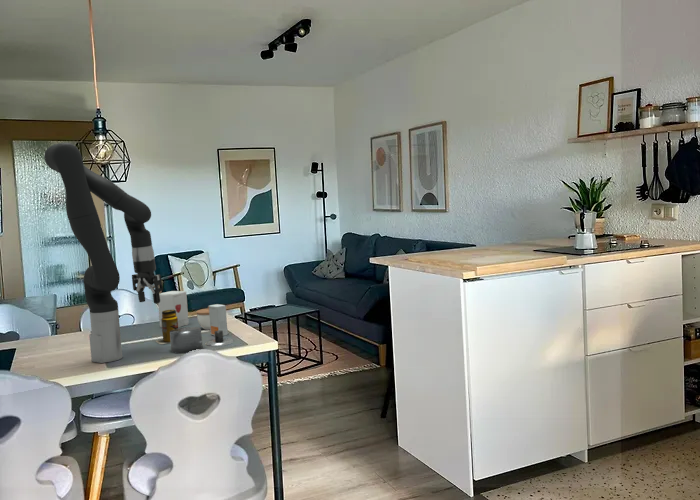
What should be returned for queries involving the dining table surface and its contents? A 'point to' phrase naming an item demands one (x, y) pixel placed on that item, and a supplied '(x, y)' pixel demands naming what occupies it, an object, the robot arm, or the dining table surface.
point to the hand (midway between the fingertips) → (149, 302)
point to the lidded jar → (204, 318)
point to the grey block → (185, 339)
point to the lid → (219, 340)
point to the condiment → (168, 325)
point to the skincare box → (218, 318)
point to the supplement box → (174, 306)
